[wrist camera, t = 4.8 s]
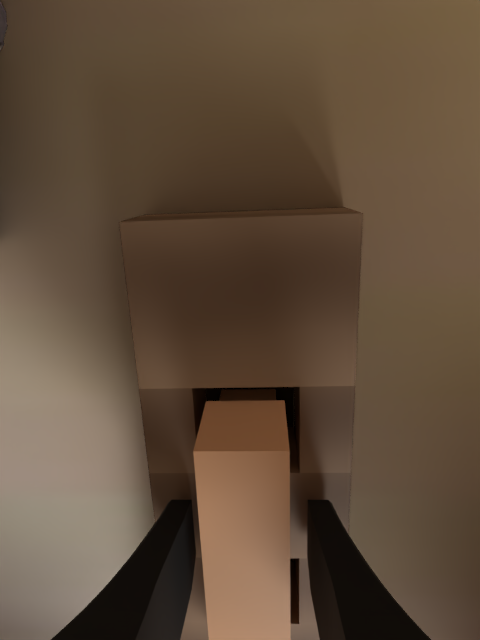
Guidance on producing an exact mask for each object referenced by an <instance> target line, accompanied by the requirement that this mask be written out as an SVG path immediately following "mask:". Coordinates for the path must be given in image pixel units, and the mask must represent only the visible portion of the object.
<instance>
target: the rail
mask: <svg viewBox="0 0 480 640" xmlns="http://www.w3.org/2000/svg"><path fill="white" fill-rule="evenodd" d="M362 221H363V213H361V212H357V211H354V210H351V209H348V208H345V207H340V208H313V209H286V210H259V211H232V212H205V213H178V214H151V215H142V216H138V217H135V218H131V219H128V220H124V221H121V222H119V227H120V235H121V244H122V252H123V260H124V269H125V277H126V285H127V294H128V302H129V310H130V318H131V327H132V335H133V343H134V352H135V360H136V368H137V377H138V385H139V393H140V402H141V410H142V418H143V426H144V435H145V443H146V451H147V460H148V468H149V476H150V485H151V493H152V501H153V510H154V518H155V522H156V521H157V519H158V518H159V516H160V515H161V513H162V512H163V510H164V509H165V507H166V505H167V504H168V502H170V501H171V500H192V512H193V523H194V535H195V546H196V559H195V568H194V576H193V584H192V590H191V595H190V600H189V604H188V608H187V613H186V617H185V622H184V626H183V630H182V634H181V639H180V640H209V637H208V625H207V613H206V601H205V589H204V576H203V564H202V552H201V540H200V528H199V516H198V504H197V491H196V479H195V467H194V455H193V450H194V446H195V442H196V439H197V435H198V431H199V427H200V423H201V419H202V415H203V411H204V407H205V403H206V401H207V400H206V388H245V387H294V427H287V430H288V440H289V450H290V558H294V562H290V625H291V640H320V638H319V633H318V628H317V622H316V617H315V612H314V607H313V601H312V596H311V590H310V580H309V570H308V559H307V513H308V500H329V501H330V502H331V503H332V504H333V507H334V509H335V511H336V513H337V515H338V517H339V519H340V520H341V522H342V524H343V526H344V528H345V529H346V531H347V533H348V534H349V512H350V490H351V467H352V445H353V423H354V400H355V378H356V355H357V333H358V311H359V288H360V266H361V243H362Z"/></svg>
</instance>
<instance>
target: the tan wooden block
mask: <svg viewBox="0 0 480 640" xmlns="http://www.w3.org/2000/svg"><path fill="white" fill-rule="evenodd" d="M193 455H194V467H195V479H196V491H197V504H198V516H199V528H200V540H201V552H202V564H203V576H204V589H205V601H206V613H207V625H208V637H209V640H291V625H290V450H289V440H288V430H287V420H286V410H285V401H284V400H276V391H275V389H232V390H221V394H220V399H219V401H206V403H205V407H204V411H203V415H202V419H201V423H200V427H199V431H198V435H197V439H196V442H195V446H194V450H193Z"/></svg>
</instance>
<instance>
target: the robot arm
mask: <svg viewBox="0 0 480 640" xmlns="http://www.w3.org/2000/svg"><path fill="white" fill-rule="evenodd" d="M195 559H196V546H195V535H194V523H193V512H192V500H171V501H170V502H168V504H167V505H166V507H165V509H164V510H163V512H162V513H161V515H160V516H159V518H158V519H157V521H156V522H155V524H154V525H153V527H152V528H151V530H150V531H149V533H148V534H147V535H146V537H145V538H144V539H143V541H142V542H141V543H140V545H139V546H138V547H137V549H136V550H135V552H134V553H133V554H132V555H131V557H130V558H129V559H128V560H127V562H126V563H125V564H124V565H123V566H122V568H121V569H120V570H119V571H118V573H117V574H116V575H115V576H114V577H113V579H112V580H111V581H110V582H109V583H108V584H107V585H106V586H105V588H104V589H103V590H102V591H101V592H100V593H99V594H98V595H97V596H96V597H95V598H94V599H93V600H92V601H91V602H90V603H89V604H88V606H87V607H86V608H85V609H84V610H82V611H81V612H80V613H79V614H78V615H77V616H76V617H75V618H74V619H73V620H72V621H71V622H70V623H69V624H68V625H67V626H66V627H65V628H63V629H62V630H61V631H60V632H59V633H58V634H57V635H56V636H55V637H53V638H52V639H51V640H180V639H181V634H182V630H183V626H184V622H185V617H186V613H187V608H188V604H189V600H190V595H191V590H192V584H193V576H194V568H195ZM307 559H308V570H309V580H310V590H311V596H312V601H313V607H314V612H315V617H316V622H317V628H318V633H319V638H320V640H431V639H430V638H429V637H428V636H427V635H426V634H425V633H424V632H423V631H422V630H421V629H420V628H419V627H418V626H417V624H416V623H415V622H414V621H413V620H412V619H411V618H410V617H409V616H408V615H407V613H406V612H405V611H404V610H403V609H402V608H401V606H400V605H399V604H398V603H397V602H396V601H395V599H394V598H393V597H392V596H391V594H390V593H389V592H388V591H387V589H386V588H385V587H384V585H383V584H382V583H381V581H380V580H379V579H378V577H377V576H376V575H375V573H374V572H373V571H372V569H371V568H370V566H369V565H368V564H367V562H366V561H365V559H364V558H363V556H362V555H361V553H360V552H359V550H358V549H357V547H356V546H355V544H354V543H353V541H352V539H351V538H350V536H349V534H348V533H347V531H346V529H345V528H344V526H343V524H342V522H341V520H340V519H339V517H338V515H337V513H336V511H335V509H334V507H333V504H332V503H331V502H330V501H329V500H308V513H307Z"/></svg>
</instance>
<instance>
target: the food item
mask: <svg viewBox="0 0 480 640" xmlns="http://www.w3.org/2000/svg"><path fill="white" fill-rule="evenodd" d="M6 30H7V20H6V11H5V9H4V7H3V5H2V3H1V1H0V51H1V49H2V47H3V46H4V41H3V40H4V37H5V33H6Z"/></svg>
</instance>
